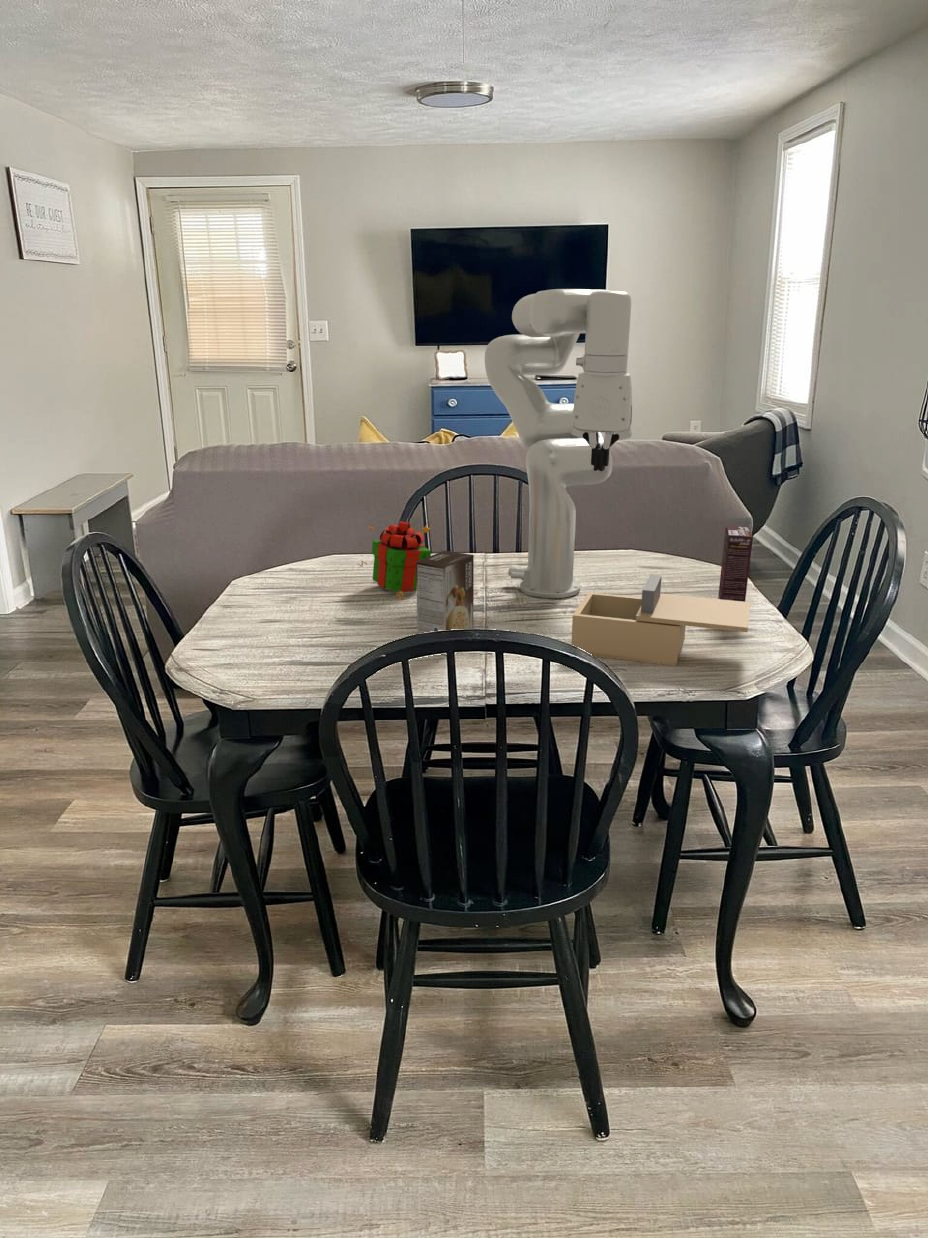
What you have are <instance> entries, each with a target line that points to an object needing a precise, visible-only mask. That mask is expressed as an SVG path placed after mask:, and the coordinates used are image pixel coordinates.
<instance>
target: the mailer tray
mask: <svg viewBox="0 0 928 1238" xmlns="http://www.w3.org/2000/svg"><path fill="white" fill-rule="evenodd" d="M641 603H642V596H641V597H639V596H631V595H630V596H629V595H621V594H620V595H619V594H610V593H609V594H608V593H602V592H601V593H600V592H590V591H589V592H587V593H586V595H585V597H584V598H583V599H582V601H581V603H580V604H579V606H578V607H577V608H576V610H575V611H574V612H573V614H572V621H571V622H572V623H571V624H572V625H571V643H570V646H571V645H574V646H576V647H579V648H581V649H583V650H585V651H586V652H588V653H590V654H592V655H594V656H593V657H596V658H597V657H598V658H605V659H613V658H616V659H615V660H621V659H623V660H624V661H630V662H632V661H633V662H638V661H639V662H640V663H646V664H647V663H649V664H655V663H657V665H663V664H664V666H673V667H677V665H678V662H679V658H680V654H681V651H682V648H683V645H684V642H685V638H686V628H687V626H683V625H674V624H665V623H655V622H646V621H637V620H636V615H637V613H638V611H639V609H640V607H641ZM623 660H622V661H623Z"/></svg>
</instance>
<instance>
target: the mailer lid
mask: <svg viewBox="0 0 928 1238" xmlns="http://www.w3.org/2000/svg"><path fill="white" fill-rule="evenodd" d="M662 577H663V576H662V575H661V574H649V575H648V578H647V580H646V582H645V584H644V586H643V588H642V591H641V598H642V603H641V607H640V609H639V611H638V613H637V615H636V620H637V621H646V622H655V623H665V624H674V625H683V626H686V627H695V628H702V629H703V628H704V629H705V628H706V629H711V630H713V629H714V630H723V631H733V632H739V633H741V632H742V633H748V629H749V624H750V623H749V622H750V614H751V612H750V611H751V605H752V602H751V601H750V602H749V601H745V602H742V601H732V600H721V599H718V598H710V597H709V598H708V597H701V596H700V597H698V596H689V595H679V594H678V595H677V594H668V593H667V594H666V593H661V587H662Z"/></svg>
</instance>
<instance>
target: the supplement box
mask: <svg viewBox="0 0 928 1238" xmlns="http://www.w3.org/2000/svg"><path fill="white" fill-rule="evenodd" d="M724 531H725V532H724V538H723V540H724V541H723V550H722V558H721V559H722V560H721V568H720V576H719V587H718V597H717V599H721V600H732V601H742V602H746V597H747V590H748V581H749V574H750V573H749V572H750V564H751V557H752V556H751V555H752V547H753V539H754V537H753V534H752V532H751V529H750V527H748V526H738V525H733V526H732V525H726V526H725V530H724Z"/></svg>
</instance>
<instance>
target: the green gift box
mask: <svg viewBox="0 0 928 1238" xmlns="http://www.w3.org/2000/svg"><path fill="white" fill-rule="evenodd" d="M367 528H370V529H369V532H370V531H372V529H373V533H374V532H375V527H372V526H370V525H368V526H367ZM421 530H422V532H420V531H415V529H414V528H413V527H411V523H410V522H404V521H399V523H398V525H395V524H390V525H389V526H387V527H386V528H385V529H384V530H383V531H382V532H381V533H380V535H379V539H378V540H377V539H375V540H374V539H373V540H372V547H371V550H372V551H371V554H372V555H373V556H374V557H373V568H372V569H373V570H372V580H373V582H375V583H376V584H377V585H378V586H379V587H381V588H383V589H387V590H389V591H390V592H394V591H398V592H397V593H396V597H398V598H399V599H403V598H404V595H405V594H404V592H413V591H414V590H417V587H416V562H417V561H419V560H422V559H424V558H427V557H429V556H432V550H431V549H429V548H426V546H425V545H423V542H424V541H425V540H424V535H423V534H425V533H426V534H429V531H430V530H431V528H430V527H428V525H425V526H424V527H422V528H421ZM363 563H364V564H365V565H368V562H366V561H364V560H361V564H360V563H357V565H358V566H359V567H361V568H363V566H364V565H363ZM401 594H402V596H401Z"/></svg>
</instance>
